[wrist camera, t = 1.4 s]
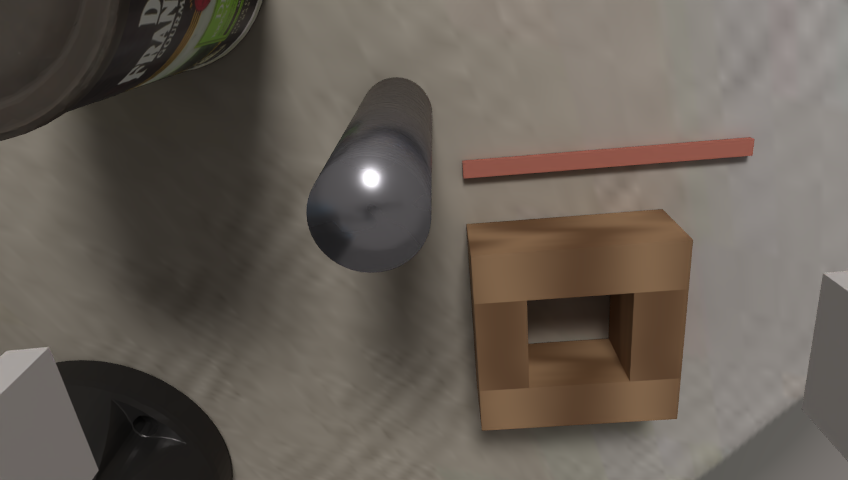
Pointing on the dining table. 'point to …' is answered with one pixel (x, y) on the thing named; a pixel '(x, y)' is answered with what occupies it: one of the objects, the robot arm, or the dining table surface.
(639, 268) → the wooden square frame
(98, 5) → the coffee can
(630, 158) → the thin red bar
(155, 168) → the dining table surface
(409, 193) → the steel round rod
